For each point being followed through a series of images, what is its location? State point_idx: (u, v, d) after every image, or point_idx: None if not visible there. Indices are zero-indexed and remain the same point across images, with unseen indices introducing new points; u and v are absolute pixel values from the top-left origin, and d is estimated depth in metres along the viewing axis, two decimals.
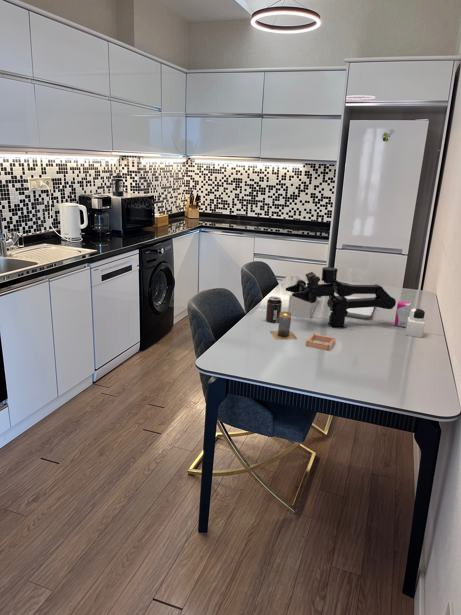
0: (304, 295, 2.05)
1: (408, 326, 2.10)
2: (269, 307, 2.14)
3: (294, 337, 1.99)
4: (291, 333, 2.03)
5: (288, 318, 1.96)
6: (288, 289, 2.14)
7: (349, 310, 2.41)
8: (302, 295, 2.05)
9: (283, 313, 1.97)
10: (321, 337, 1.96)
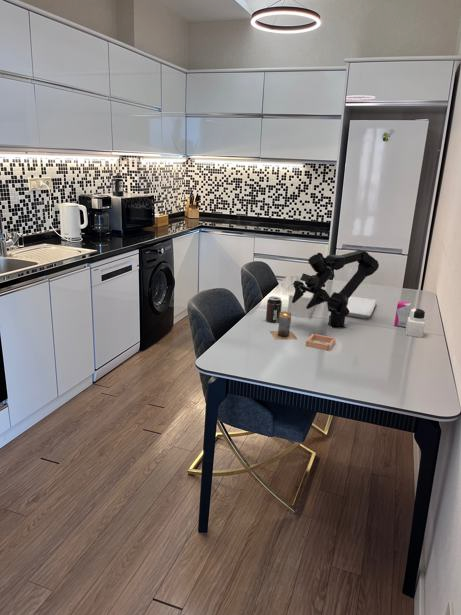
0: (316, 300, 1.98)
1: (408, 326, 2.10)
2: (269, 307, 2.14)
3: (294, 337, 1.99)
4: (291, 333, 2.03)
5: (288, 318, 1.96)
6: (294, 300, 2.05)
7: (349, 310, 2.41)
8: (315, 301, 1.98)
9: (283, 313, 1.97)
10: (321, 337, 1.96)
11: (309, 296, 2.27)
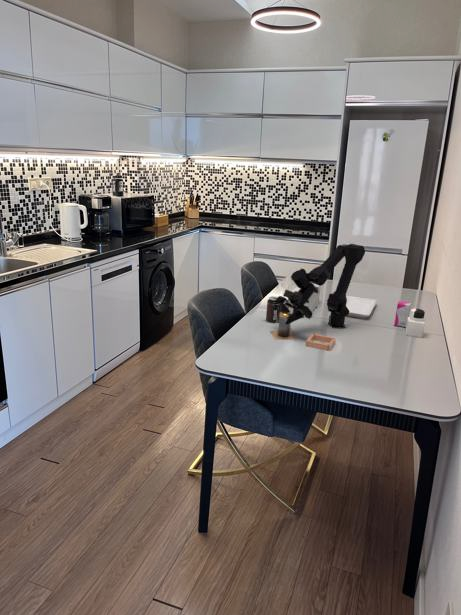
0: (296, 315, 1.96)
1: (408, 326, 2.10)
2: (269, 307, 2.14)
3: (294, 337, 1.99)
4: (291, 333, 2.03)
5: None
6: None
7: None
8: (294, 316, 1.96)
9: (283, 313, 1.97)
10: (321, 337, 1.96)
11: None
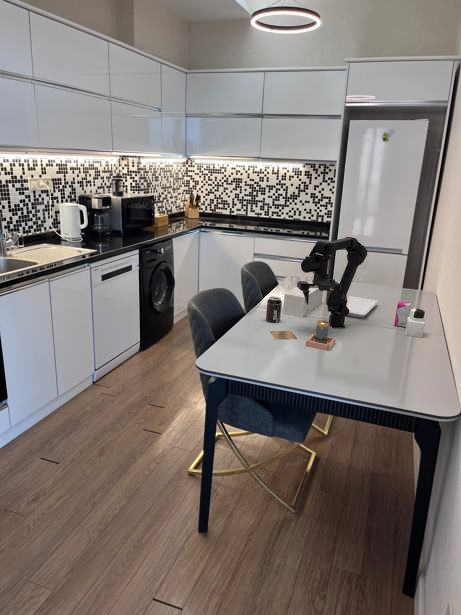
0: None
1: (408, 326, 2.10)
2: (269, 307, 2.14)
3: (294, 337, 1.99)
4: (291, 333, 2.03)
5: (328, 327, 1.89)
6: None
7: None
8: None
9: (322, 322, 1.89)
10: None
11: None
